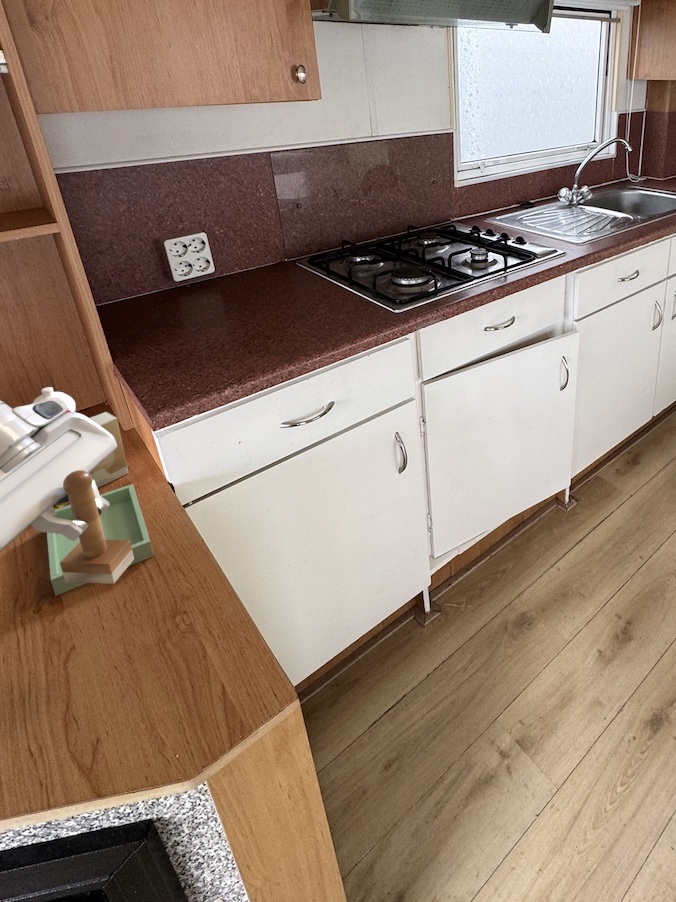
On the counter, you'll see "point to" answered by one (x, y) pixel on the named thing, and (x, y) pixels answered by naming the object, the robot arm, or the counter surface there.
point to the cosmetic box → (116, 460)
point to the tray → (117, 525)
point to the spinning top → (50, 394)
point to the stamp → (92, 538)
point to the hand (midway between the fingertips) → (93, 522)
